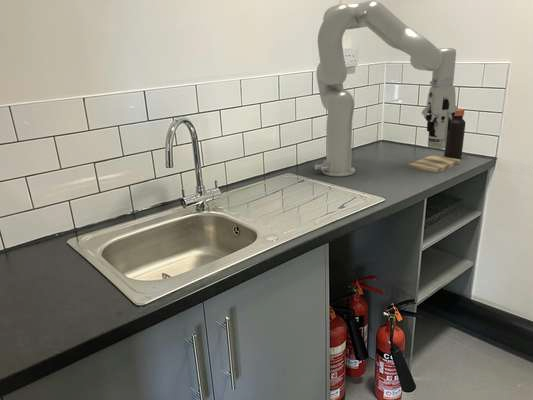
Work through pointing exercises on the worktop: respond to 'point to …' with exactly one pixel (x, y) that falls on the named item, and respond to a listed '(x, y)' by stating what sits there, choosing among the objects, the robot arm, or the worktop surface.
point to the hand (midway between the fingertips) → (438, 130)
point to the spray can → (440, 128)
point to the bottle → (455, 136)
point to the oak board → (434, 163)
